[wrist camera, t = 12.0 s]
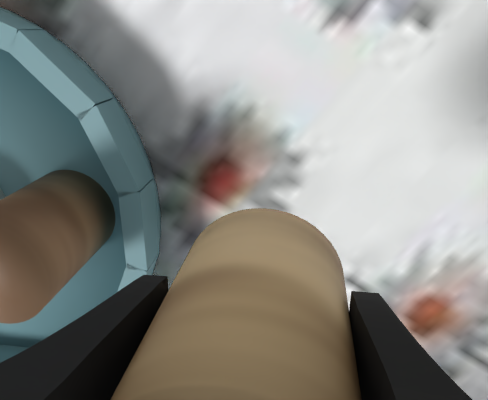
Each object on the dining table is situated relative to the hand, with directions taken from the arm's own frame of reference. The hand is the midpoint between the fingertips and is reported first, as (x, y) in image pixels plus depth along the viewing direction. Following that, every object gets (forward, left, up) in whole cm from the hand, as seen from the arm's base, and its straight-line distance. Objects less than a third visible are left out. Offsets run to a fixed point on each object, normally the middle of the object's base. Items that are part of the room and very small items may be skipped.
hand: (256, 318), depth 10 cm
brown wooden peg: (-2, +10, -10) cm, 14 cm away
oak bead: (0, 0, -2) cm, 2 cm away
